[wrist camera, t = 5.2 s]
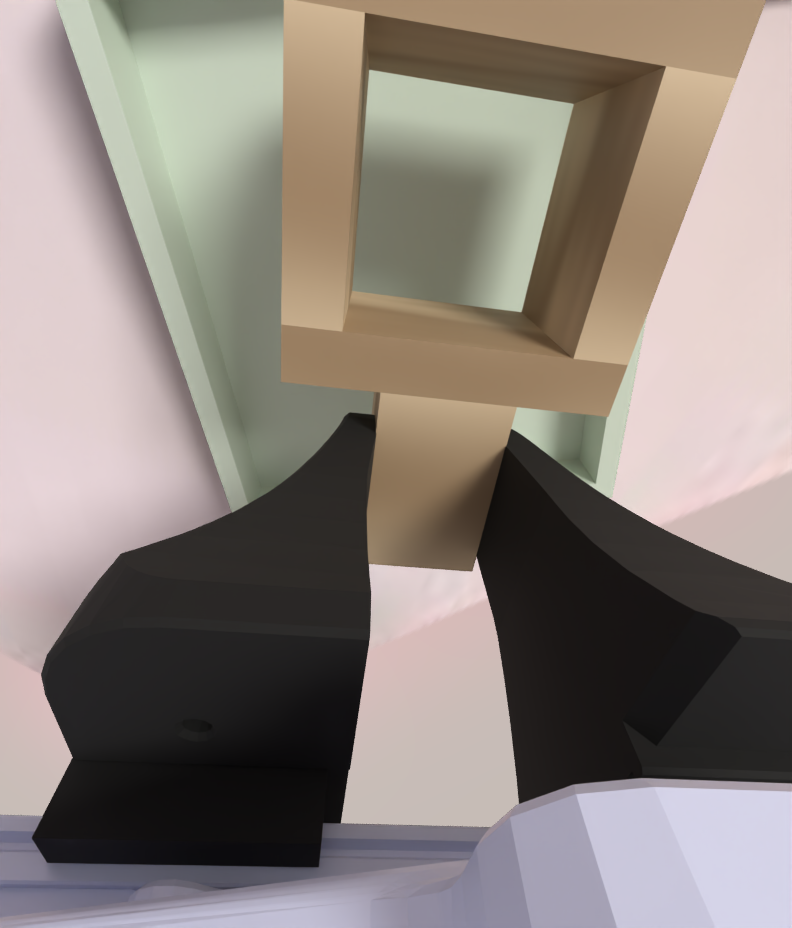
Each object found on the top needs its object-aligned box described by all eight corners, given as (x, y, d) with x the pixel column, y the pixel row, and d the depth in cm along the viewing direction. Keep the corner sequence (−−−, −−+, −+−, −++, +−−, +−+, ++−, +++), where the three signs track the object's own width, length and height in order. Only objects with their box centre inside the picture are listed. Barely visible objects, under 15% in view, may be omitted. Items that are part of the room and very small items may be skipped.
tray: (251, 494, 17) (237, 530, 16) (82, -51, 10) (22, -94, 8) (589, 464, 17) (611, 497, 16) (677, -120, 10) (741, -179, 8)
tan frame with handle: (511, 491, 14) (547, 577, 11) (301, 472, 13) (279, 556, 10) (641, 46, 9) (774, -23, 6) (317, -13, 8) (284, -121, 5)
